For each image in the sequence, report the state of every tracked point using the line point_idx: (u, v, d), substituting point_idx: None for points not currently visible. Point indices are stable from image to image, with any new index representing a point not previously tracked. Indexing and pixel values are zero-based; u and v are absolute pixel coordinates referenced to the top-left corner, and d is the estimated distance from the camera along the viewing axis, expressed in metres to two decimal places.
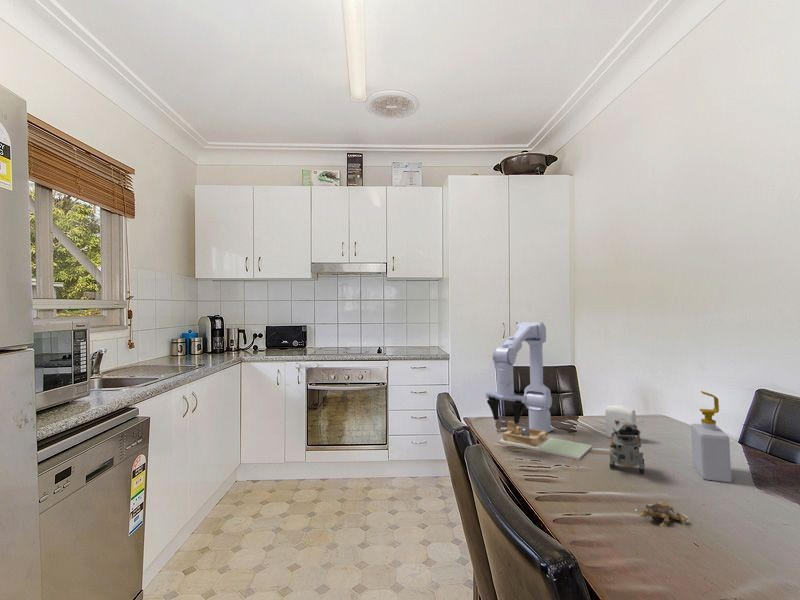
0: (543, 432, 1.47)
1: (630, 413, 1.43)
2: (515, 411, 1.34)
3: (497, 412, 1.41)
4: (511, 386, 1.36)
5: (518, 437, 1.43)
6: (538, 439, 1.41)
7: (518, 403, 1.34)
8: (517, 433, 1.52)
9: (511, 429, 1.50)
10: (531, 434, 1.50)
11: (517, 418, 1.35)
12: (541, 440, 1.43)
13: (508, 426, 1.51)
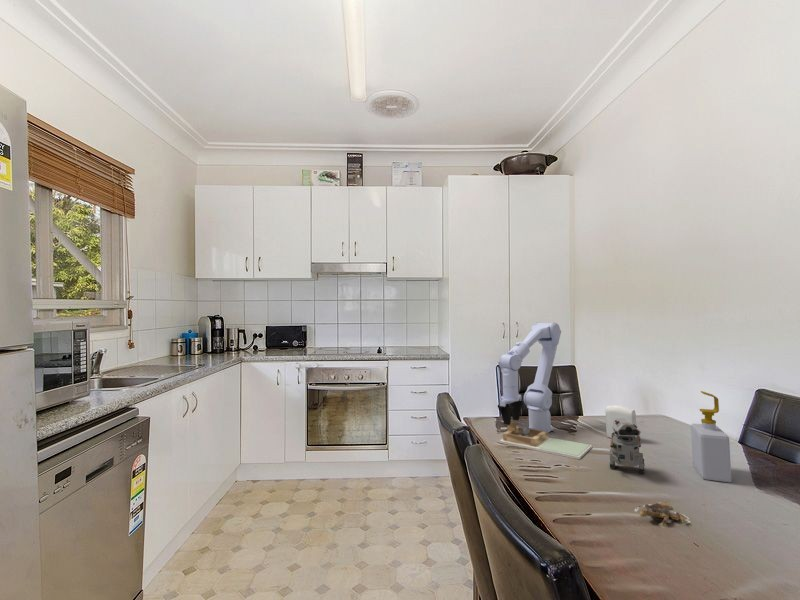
0: (543, 432, 1.47)
1: (630, 413, 1.43)
2: None
3: (517, 414, 1.53)
4: (505, 390, 1.50)
5: (518, 437, 1.43)
6: (538, 439, 1.41)
7: (500, 405, 1.48)
8: (517, 433, 1.52)
9: (511, 429, 1.50)
10: (531, 434, 1.50)
11: (505, 419, 1.48)
12: (541, 440, 1.43)
13: (508, 426, 1.51)
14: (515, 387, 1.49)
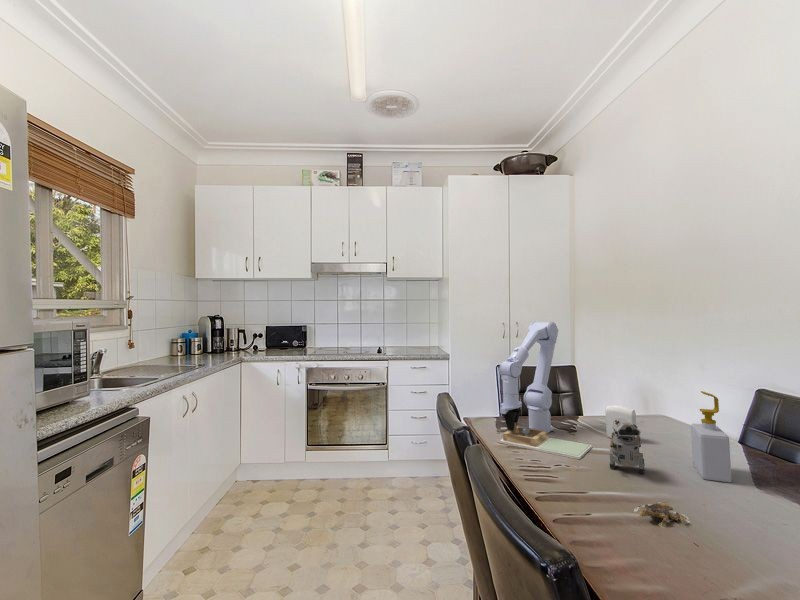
0: (543, 432, 1.47)
1: (630, 413, 1.43)
2: None
3: None
4: (505, 397, 1.49)
5: (518, 437, 1.43)
6: (538, 439, 1.41)
7: None
8: (517, 433, 1.52)
9: None
10: (531, 434, 1.50)
11: (508, 425, 1.50)
12: (541, 440, 1.43)
13: None
14: (515, 394, 1.48)
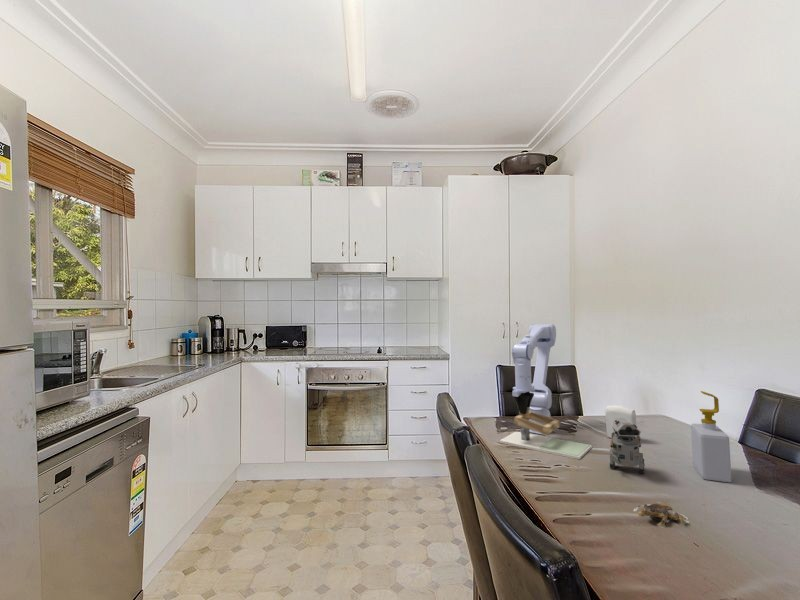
0: (555, 421, 1.43)
1: (630, 413, 1.43)
2: None
3: (526, 406, 1.47)
4: (518, 380, 1.46)
5: (530, 423, 1.39)
6: (550, 428, 1.38)
7: None
8: (528, 418, 1.49)
9: None
10: (542, 421, 1.47)
11: (521, 409, 1.46)
12: (553, 429, 1.40)
13: None
14: (528, 377, 1.45)
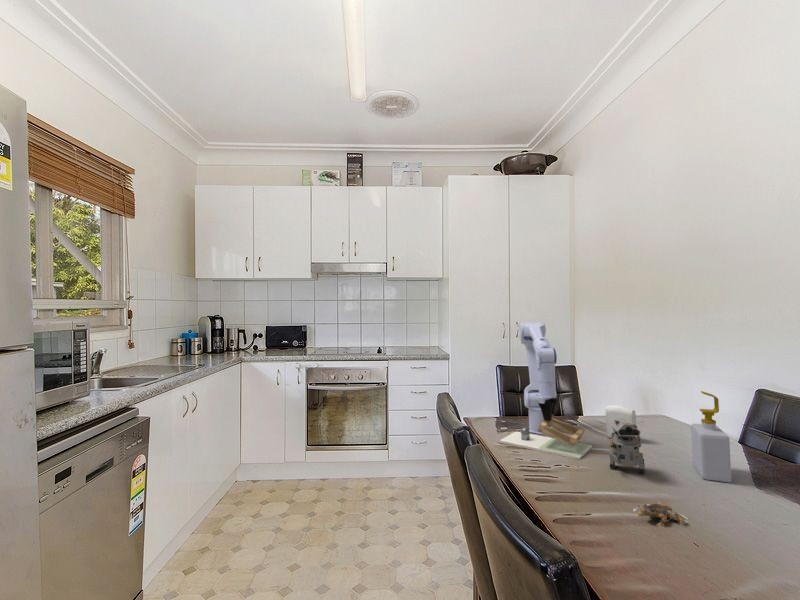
0: (580, 430, 1.39)
1: (630, 413, 1.43)
2: None
3: None
4: (542, 386, 1.40)
5: (556, 432, 1.34)
6: (577, 438, 1.33)
7: None
8: (550, 425, 1.44)
9: (547, 421, 1.41)
10: (565, 429, 1.42)
11: (545, 416, 1.41)
12: (578, 439, 1.35)
13: None
14: (553, 383, 1.40)
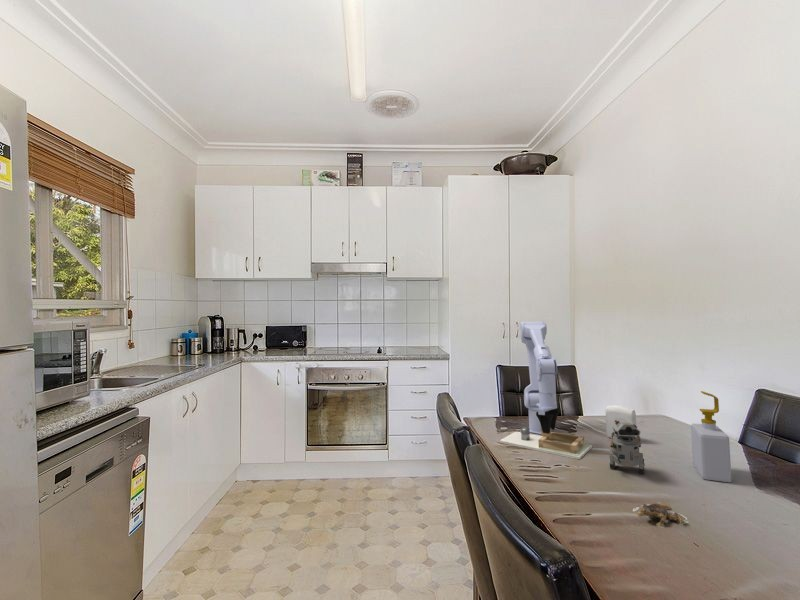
0: (580, 438, 1.39)
1: (630, 413, 1.43)
2: None
3: (552, 422, 1.43)
4: (542, 397, 1.40)
5: (556, 443, 1.34)
6: (577, 445, 1.33)
7: (538, 413, 1.38)
8: (551, 439, 1.44)
9: (545, 435, 1.41)
10: (566, 440, 1.42)
11: (544, 428, 1.39)
12: (579, 446, 1.35)
13: (542, 431, 1.42)
14: (553, 394, 1.39)
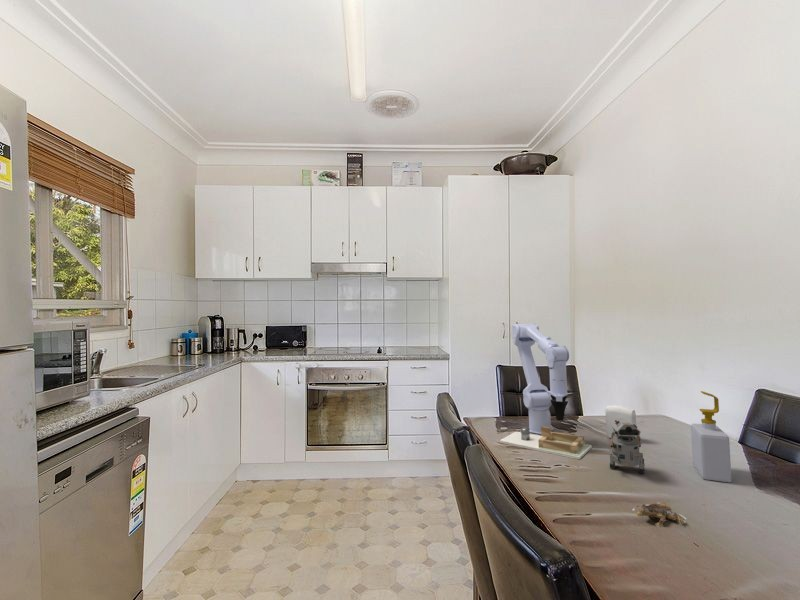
0: (580, 438, 1.39)
1: (630, 413, 1.43)
2: None
3: None
4: (556, 384, 1.42)
5: (556, 443, 1.34)
6: (577, 445, 1.33)
7: (554, 400, 1.40)
8: (551, 439, 1.44)
9: (545, 435, 1.41)
10: (566, 440, 1.42)
11: (558, 415, 1.40)
12: (579, 446, 1.35)
13: (542, 431, 1.42)
14: (565, 380, 1.42)
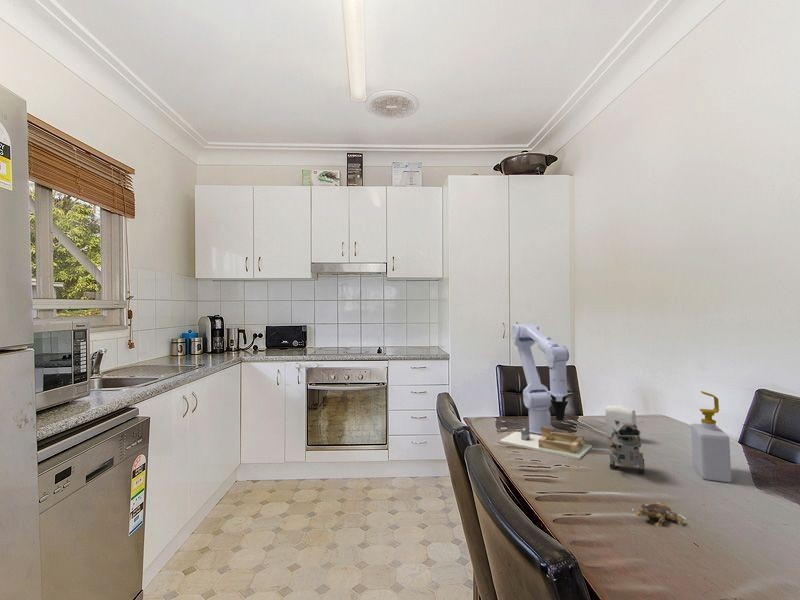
0: (580, 438, 1.39)
1: (630, 413, 1.43)
2: None
3: None
4: (556, 384, 1.42)
5: (556, 443, 1.34)
6: (577, 445, 1.33)
7: (554, 400, 1.40)
8: (551, 439, 1.44)
9: (545, 435, 1.41)
10: (566, 440, 1.42)
11: (558, 415, 1.40)
12: (579, 446, 1.35)
13: (542, 431, 1.42)
14: (565, 380, 1.42)
